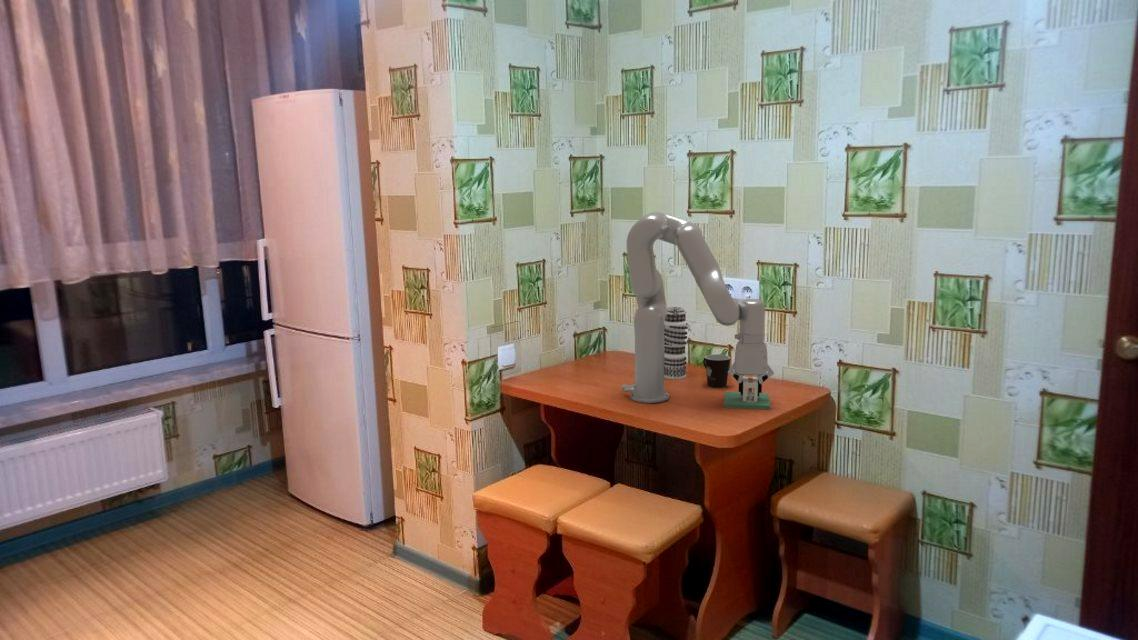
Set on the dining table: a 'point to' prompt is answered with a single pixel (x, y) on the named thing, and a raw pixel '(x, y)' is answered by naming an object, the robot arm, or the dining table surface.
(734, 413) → the dining table surface
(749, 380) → the white box
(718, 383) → the coffee mug
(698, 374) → the dining table surface
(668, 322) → the decorative candle
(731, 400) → the board
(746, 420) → the dining table surface
